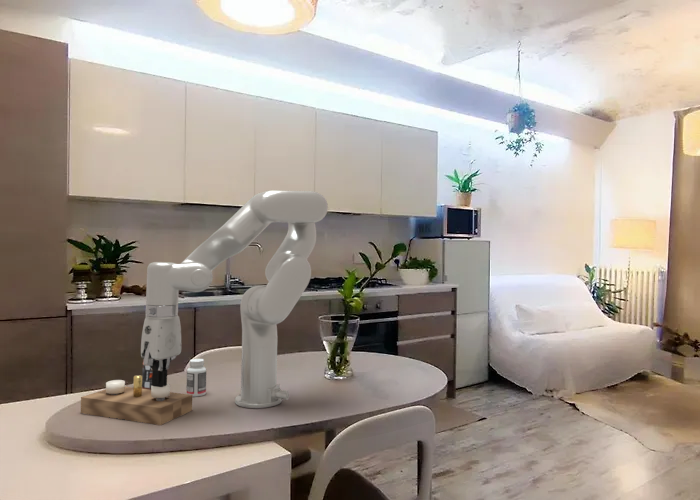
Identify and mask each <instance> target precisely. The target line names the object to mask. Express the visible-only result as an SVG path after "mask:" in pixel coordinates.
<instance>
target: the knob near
mask: <svg viewBox="0 0 700 500" xmlns="http://www.w3.org/2000/svg"><path fill="white" fill-rule="evenodd" d="M170 392H171V384H169V383H167V385H166V386H163V387H156V386H151V397H153V398H156V401H164V400H165V397H168V396H170Z"/></svg>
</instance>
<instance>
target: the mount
mask: <svg viewBox="0 0 700 500" xmlns="http://www.w3.org/2000/svg"><path fill="white" fill-rule="evenodd" d="M191 411H193V396H192V395H189V394H187V393H179V392H172V391H170V396H168V397H165V400H164V401H156V398H153V397H151V390H149V389H142V396H141V397H133V387H131V386H125V391H124V392H122V393H120V394H118V395H111V394H108V393H106V388H105V389H103V390H99V391H95V392H93V393H90V394H86V395H84V396H81V397H80V414H82V413H84V415H89V414H90V416H97V417H102V416H103V417H104V418H109V417H110V419H116V418H118V420H122V419H125V420H124V421H129V420H131V421H130V422H136V421H137V422H136V423H142V422H143V424H148V425H149V424H150V425H157V426H162V425H164V424H166V423H168V422H171V421H173V420H175V419H177V418H179V417H181V416H184V415H185V414H187V413H190V412H191Z"/></svg>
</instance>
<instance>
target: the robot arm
mask: <svg viewBox="0 0 700 500" xmlns="http://www.w3.org/2000/svg"><path fill="white" fill-rule="evenodd" d="M328 208H329V207H328V202H327V199H326V198H325V196H324V195H323V194H321V193H319V192H317V191H313V190H307V191H306V190H280V189H279V190H277V189H276V190H275V189H274V190H272V189H271V190H266V191H263V192H259V193H256V194H255V195H253V196H252V197H251V198H250V199H249V200H248V201H246V203H244V204H243V205H242V207H240V208H239V209H238V210H237V212H235V213H234V214H233V215H232V216H231V217H230V218H228V220H227V221H226V222H225V223H224V224H223V225H222V226H220V227H219V228H218V229H217V230H216V231H214V232H213V233H212V234H211V235H210V236H209V237H208V238H207V239H205V240H204V241H203V242H201V244H200V245H198V246H197V247H196V248H195V249H194V250H193V251H192V252H191V253H190V254H188V256H186V258H185V259H184V260H182V261H181V262H180V263H176V262H171V261H170V262H168V261H166V262H165V261H153V262H150V263H149V264H148V266H147V268H146V269H147V270H146V271H147V272H146V292H145V293H146V295H145V298H146V299H145V311H144V312H145V318H144V322H143V327H142V330H141V331H142V332H141V340H140V341H141V343H140V356H141V358H142V360H144V362H143V361H142V366H143V365H148V366H150V367H151V370H152V386H156V387H163V386H166V385H167V384H168V370H169V369H170V364H171V362H172V361H173V360H175V359H176V358H177V356H179V355H180V354H181V352H182V326H181V321H180V320H181V319H180V316H179V315H178V313H179V292H180V291H183V292H184V291H185V292H192V293H200V292H203V291H205V290H207V289H208V288H209V287H210V286H211V285H212V283H213V279H214V275H213V271H214V270H215V269H217V267H218V266H219V265H220V264H221V263H224V261H227V259H229V258H232V257H233V256H234V257H235V256H236V255H238V254H240V253H241V252H243V251H244V250H245V249H246V248H248V247H249V246H250V244H252V242H254V241H255V239H256V238H257V237H258V236H259V235H261V233H262V232H263V231H264V230H265V229H266V228H267V227H268V226H270V224H272V223H287V224H288V228H287V234H286V235H285V237H284V239H283V240H282V242H281V244H280V245H279V247H278V248H277V250H276V251H275V253H274V254H273V256H272V257H271V259H270V260H269V261H268V262H267V265H266V266H265V270H264V271H265V278H266V280H267V281H268V282H267V284H266V286H265V285H255V286H252V287H250V288H248V289H247V290H246V291H245V292H244V293H243V295H242V296H241V299H240V306H239V307H240V308H239V309H240V310H239V311H240V319H241V376H240V378H241V381H240V383H241V384H240V394H238V395H236V397H235V398H234V403H235V405H237V406H239V407H242V408H247V409H248V408H249V409H263V408H264V409H265V408H270V407H274V406H278V405H279V404H281V403H282V401H283V400H285V401H286V400H289V397H290V392H289V390H285V389H281V385H280V383H279V384H278V383H277V379H278V378H277V373H278V372H277V371H278V370H277V369H278V327H277V325H278V324H280V323H282V322H283V321H285V319H286V318H288V316H289V315H290V313H291V312H292V310H294V307H295V306H296V304H297V303H298V302H299V300H300V298H301V297H302V295H303V293H304V292H305V290H306V289H307V287H308V285H309V283H310V281H311V277H312V267H311V264H310V262H309V261H308V258H309V257H310V255H311V253H312V252H313V250H314V248H315V245H316V243H317V228H316V223H317V222H320V221H322V220H323V219H324V218H326V217H325V216H326V215H327V213H328V210H329V209H328ZM157 361H158V362H157Z"/></svg>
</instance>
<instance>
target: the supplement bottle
mask: <svg viewBox="0 0 700 500" xmlns="http://www.w3.org/2000/svg"><path fill="white" fill-rule="evenodd" d="M143 362H144V359H142V363H143ZM157 362H158V361H157ZM151 386H152V370H151V367H150V366H148V365H143V364H142V389H149V390H151Z"/></svg>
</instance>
